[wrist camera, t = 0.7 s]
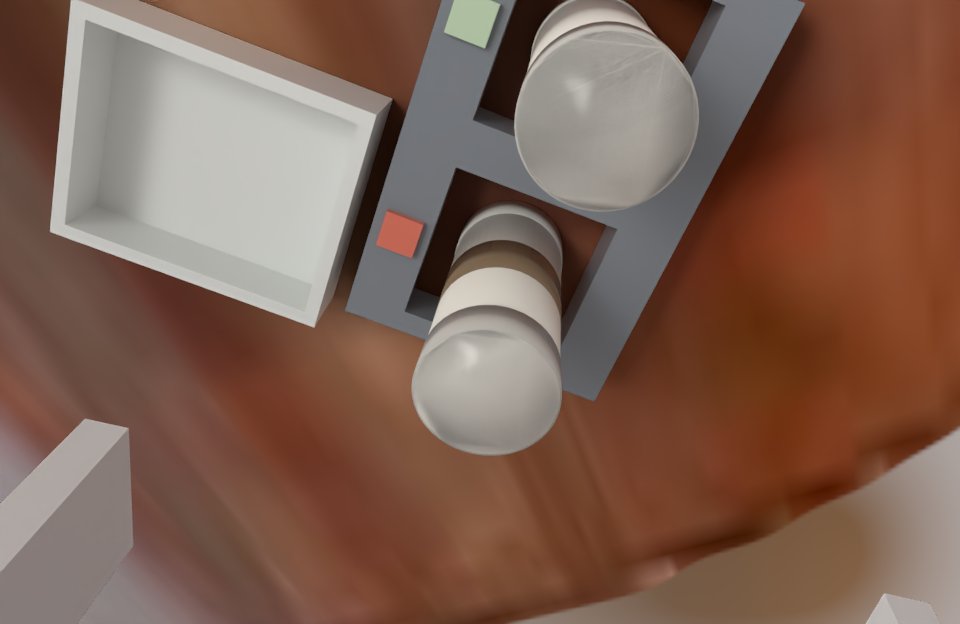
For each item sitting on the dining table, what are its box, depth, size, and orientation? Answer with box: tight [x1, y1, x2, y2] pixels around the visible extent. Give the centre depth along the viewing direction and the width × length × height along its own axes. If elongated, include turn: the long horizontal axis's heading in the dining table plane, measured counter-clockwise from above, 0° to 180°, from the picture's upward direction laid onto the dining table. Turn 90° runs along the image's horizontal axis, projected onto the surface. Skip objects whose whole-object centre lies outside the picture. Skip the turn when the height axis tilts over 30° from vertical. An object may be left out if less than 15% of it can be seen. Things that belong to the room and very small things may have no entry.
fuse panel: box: [345, 0, 805, 401], centre depth 31 cm, size 12×18×3 cm, turn 160°
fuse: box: [514, 0, 699, 212], centre depth 25 cm, size 5×5×12 cm
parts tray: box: [50, 0, 393, 327], centre depth 32 cm, size 12×10×3 cm
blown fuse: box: [412, 200, 563, 456], centre depth 29 cm, size 5×5×12 cm
